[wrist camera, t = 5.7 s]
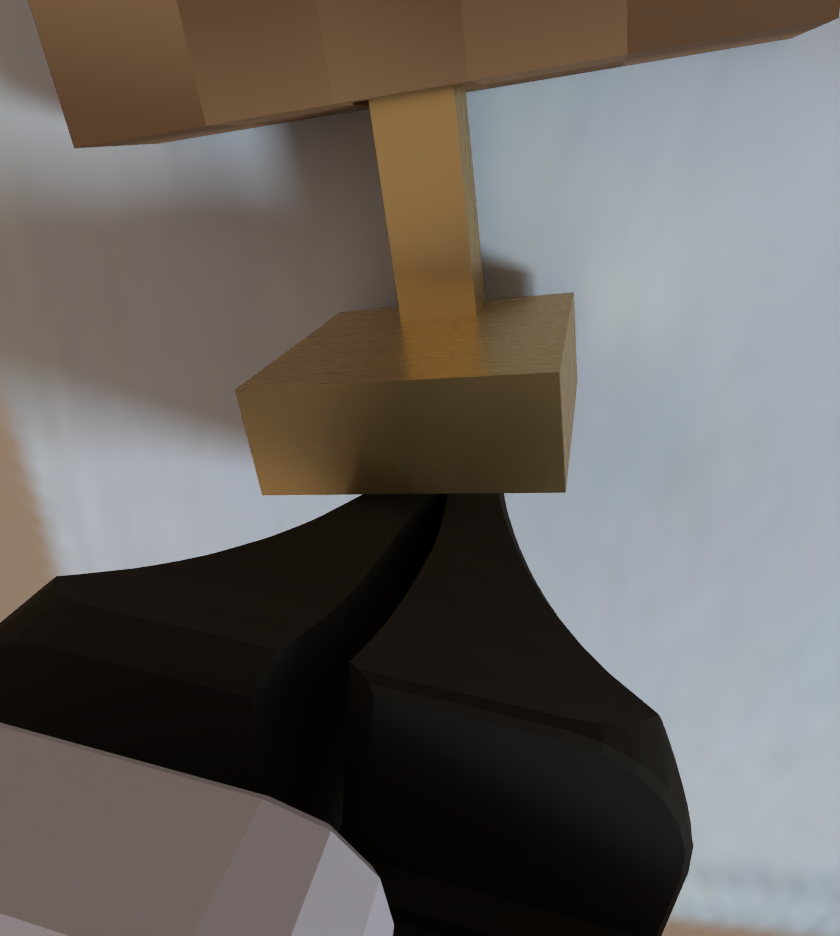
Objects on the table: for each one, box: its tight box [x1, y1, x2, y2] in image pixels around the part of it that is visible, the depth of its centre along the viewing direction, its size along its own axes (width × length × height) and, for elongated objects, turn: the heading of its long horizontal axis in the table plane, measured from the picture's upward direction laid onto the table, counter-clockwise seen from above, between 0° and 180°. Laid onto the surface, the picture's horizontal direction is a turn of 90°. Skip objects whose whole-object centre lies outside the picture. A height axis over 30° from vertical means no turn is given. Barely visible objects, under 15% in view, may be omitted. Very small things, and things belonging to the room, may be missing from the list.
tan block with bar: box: [235, 83, 577, 495], centre depth 9 cm, size 8×4×4 cm, turn 8°
